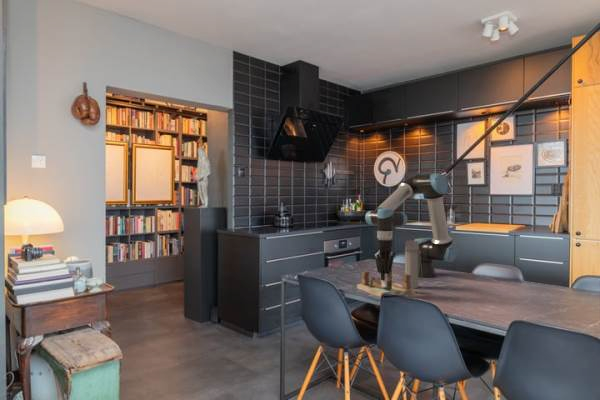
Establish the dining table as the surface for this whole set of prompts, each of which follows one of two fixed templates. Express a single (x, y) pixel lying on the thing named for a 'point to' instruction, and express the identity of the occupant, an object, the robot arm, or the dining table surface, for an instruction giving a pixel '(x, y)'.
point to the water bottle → (412, 262)
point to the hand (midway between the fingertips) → (384, 286)
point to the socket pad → (384, 290)
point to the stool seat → (402, 288)
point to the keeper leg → (379, 283)
